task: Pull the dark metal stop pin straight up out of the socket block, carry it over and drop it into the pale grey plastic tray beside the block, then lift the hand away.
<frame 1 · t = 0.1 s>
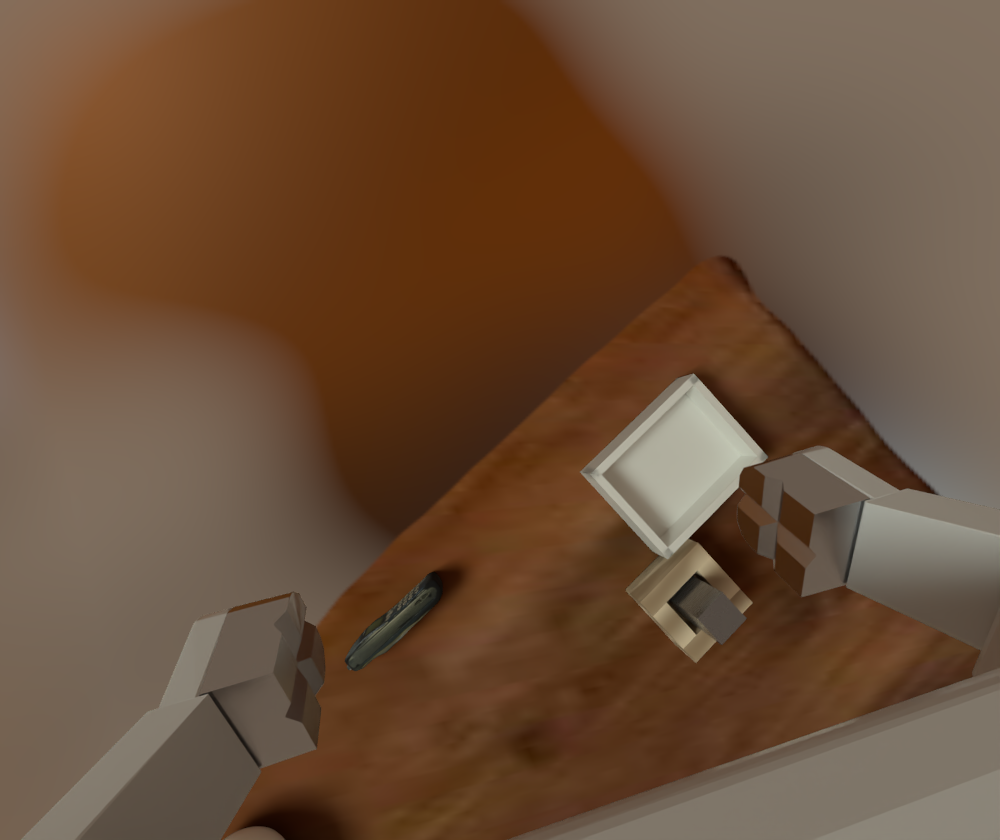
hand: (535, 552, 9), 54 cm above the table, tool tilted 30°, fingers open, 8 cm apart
stop pin: (683, 593, 64), point 1 cm above the table, touching socket block
socket block: (677, 590, 65), on the table
grey tray: (664, 463, 66), on the table
mobile phone: (393, 617, 62), on the table
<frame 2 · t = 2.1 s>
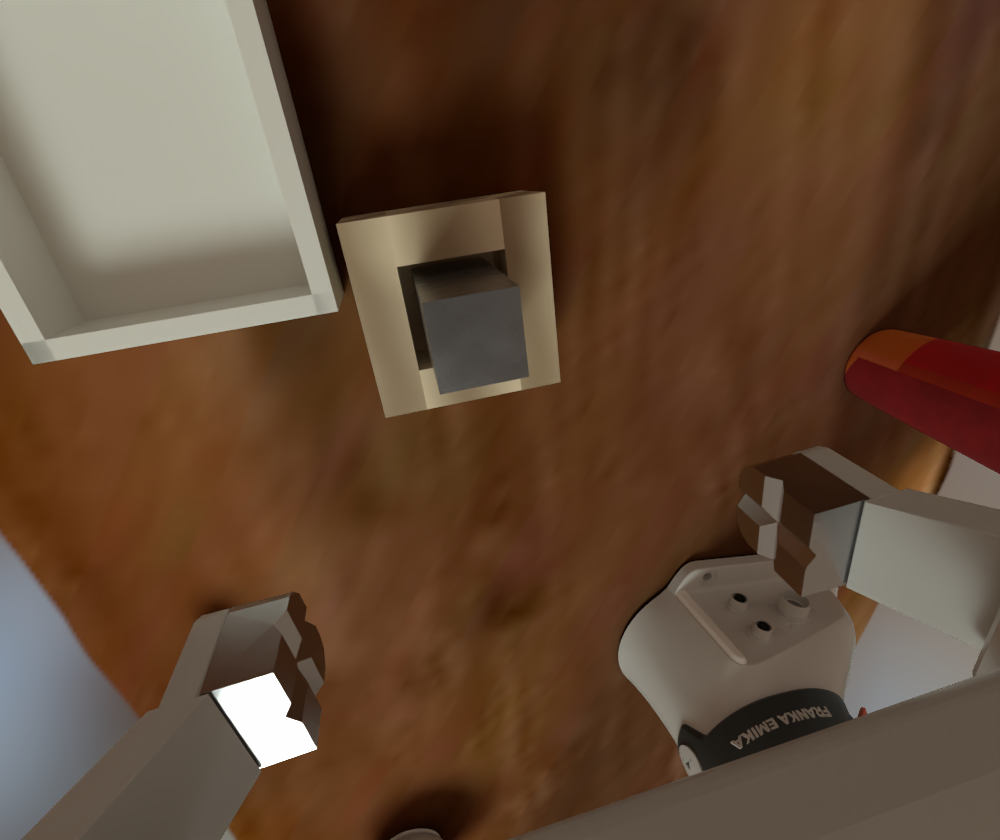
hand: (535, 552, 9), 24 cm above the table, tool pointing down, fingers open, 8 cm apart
stop pin: (452, 297, 29), point 1 cm above the table, touching socket block
socket block: (449, 292, 30), on the table
grey tray: (147, 131, 24), on the table
paper cup: (873, 361, 40), on the table
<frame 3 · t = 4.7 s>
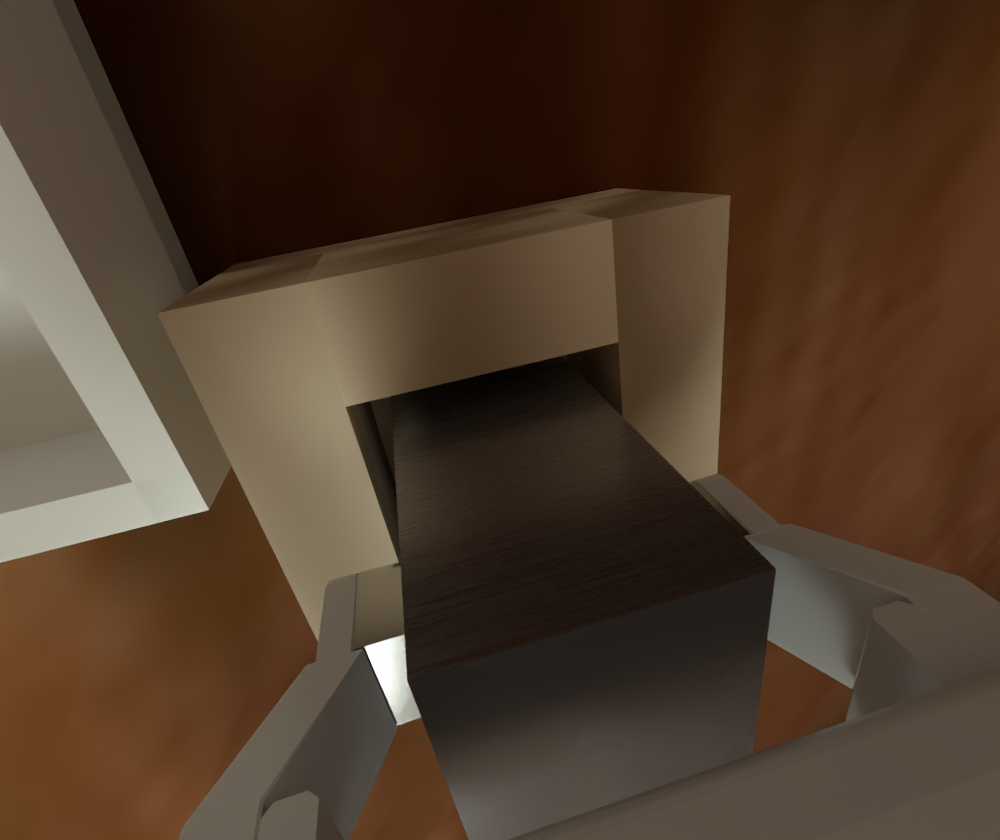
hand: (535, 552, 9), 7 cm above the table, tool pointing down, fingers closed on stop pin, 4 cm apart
stop pin: (479, 418, 14), point 1 cm above the table, touching gripper, socket block
socket block: (470, 397, 15), on the table
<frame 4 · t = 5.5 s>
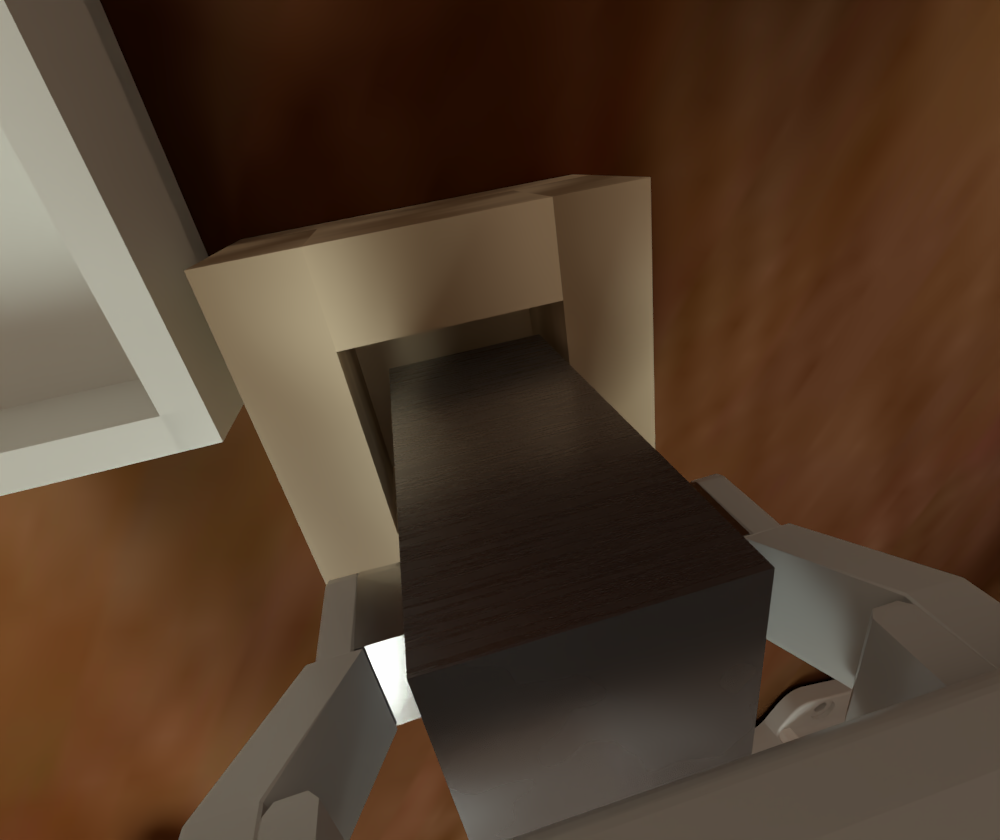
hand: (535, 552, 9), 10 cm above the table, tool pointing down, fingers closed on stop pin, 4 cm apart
stop pin: (479, 418, 14), point 4 cm above the table, touching gripper
socket block: (448, 360, 17), on the table
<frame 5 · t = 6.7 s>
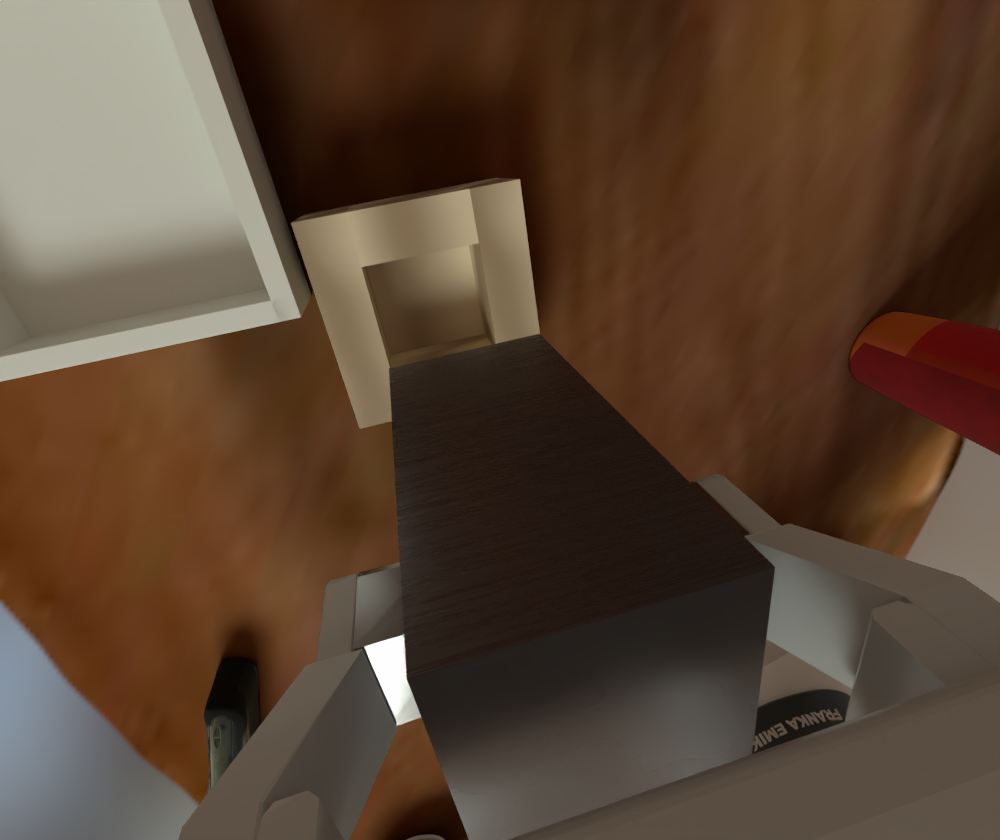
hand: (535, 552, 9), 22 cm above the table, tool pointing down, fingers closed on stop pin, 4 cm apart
stop pin: (479, 418, 14), point 17 cm above the table, touching gripper
socket block: (424, 291, 28), on the table
grey tray: (82, 128, 22), on the table
mobile phone: (242, 718, 40), on the table
paper cup: (879, 346, 38), on the table
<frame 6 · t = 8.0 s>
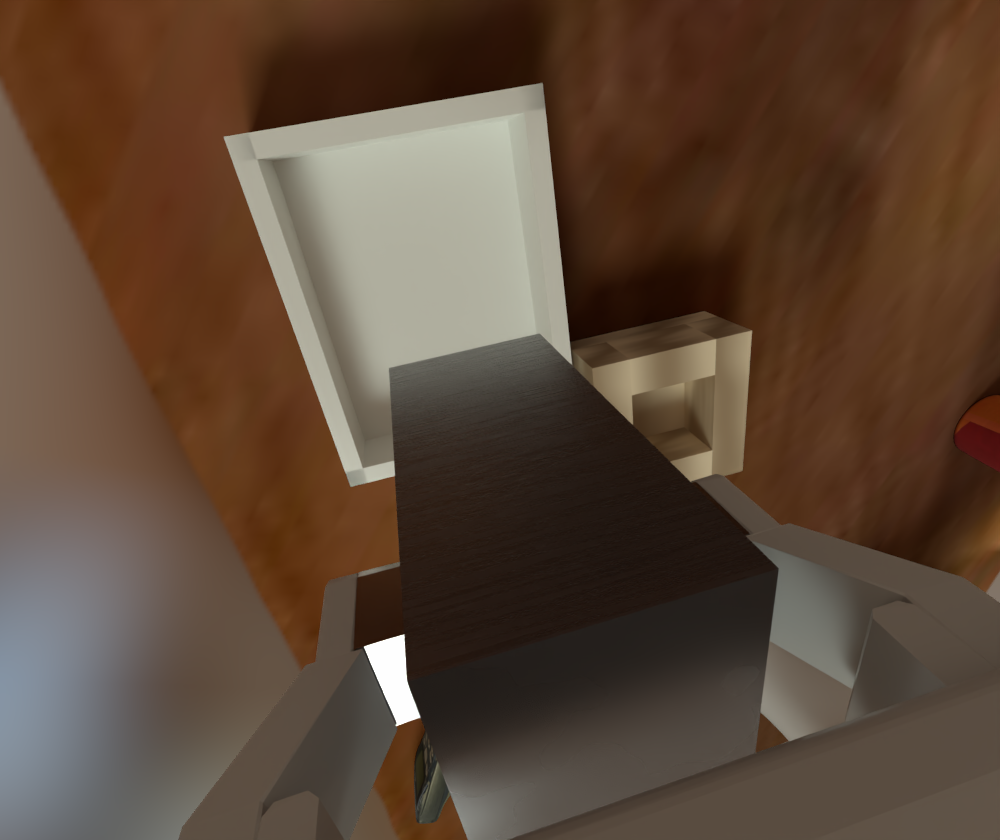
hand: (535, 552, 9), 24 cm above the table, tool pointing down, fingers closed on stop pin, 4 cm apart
stop pin: (479, 418, 14), point 18 cm above the table, touching gripper
socket block: (638, 394, 36), on the table
grey tray: (427, 293, 30), on the table
mobile phone: (434, 731, 48), on the table
paper cup: (979, 421, 45), on the table
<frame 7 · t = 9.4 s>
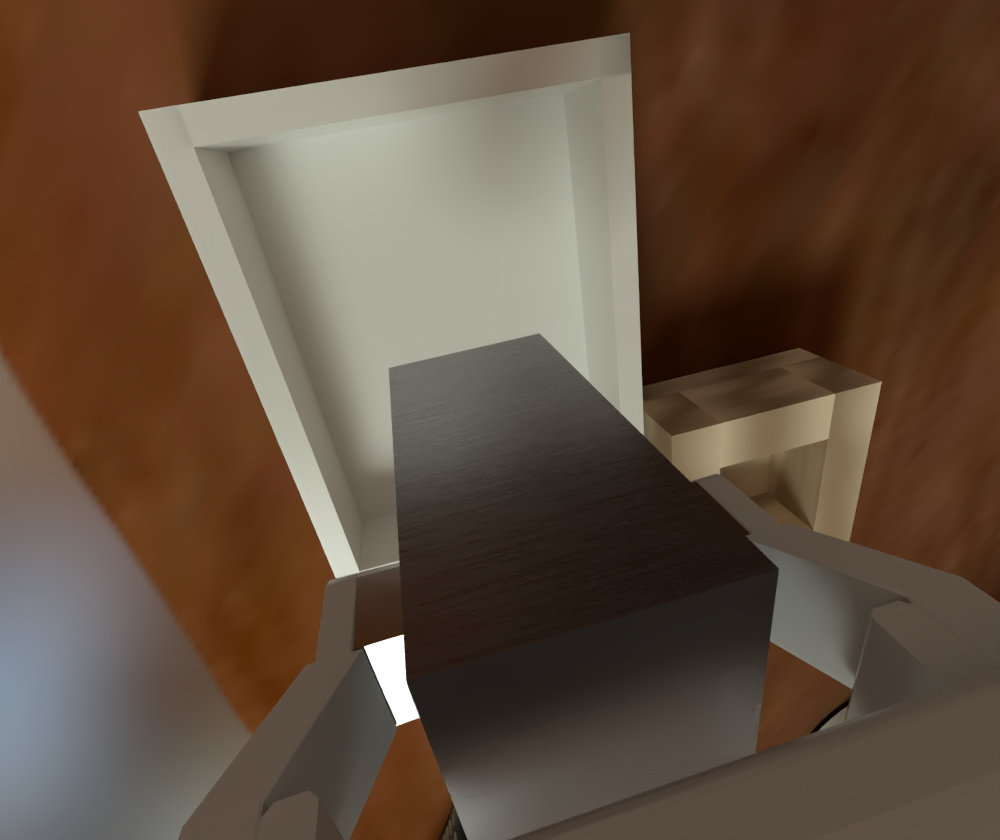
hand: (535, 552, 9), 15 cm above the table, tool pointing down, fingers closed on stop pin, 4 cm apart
stop pin: (479, 418, 14), point 9 cm above the table, touching gripper
socket block: (709, 451, 28), on the table
grey tray: (446, 331, 22), on the table
mobile phone: (449, 838, 40), on the table
when the fingers open (8 cm above the table, at t = 11.2 s): stop pin drops 1 cm, resting on grey tray.
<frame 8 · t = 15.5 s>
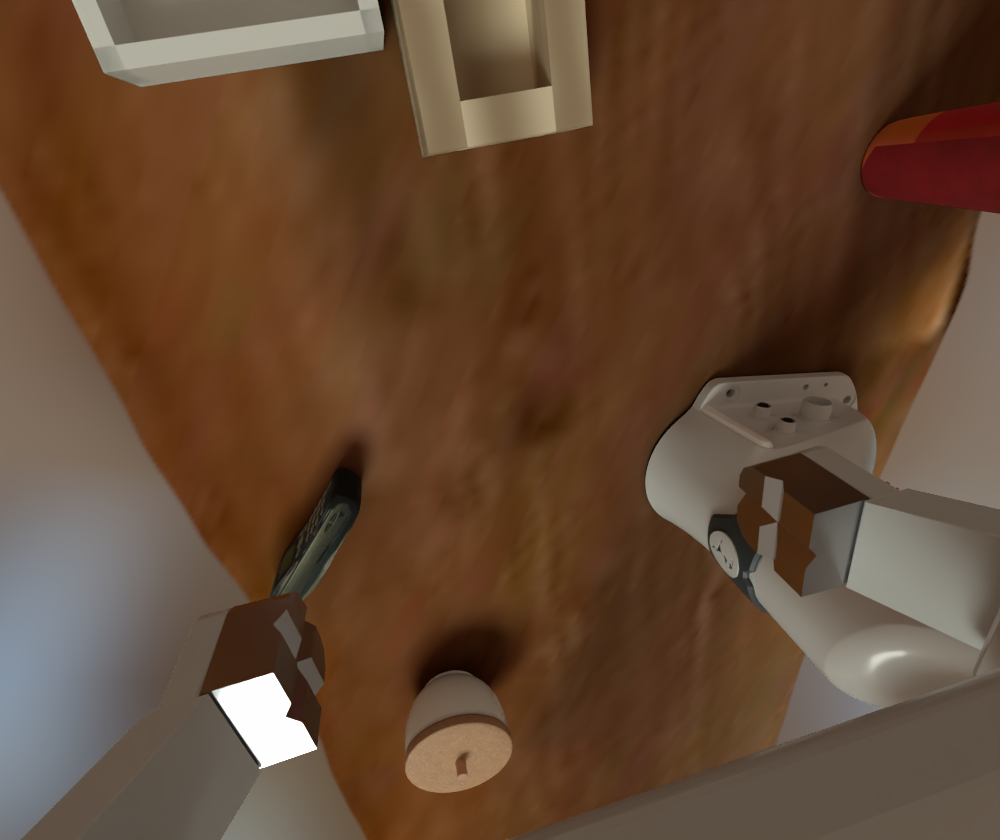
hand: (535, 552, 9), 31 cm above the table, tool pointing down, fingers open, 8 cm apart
socket block: (482, 54, 32), on the table
lidded jar: (450, 687, 57), on the table
mobile phone: (313, 533, 45), on the table
paper cup: (889, 158, 41), on the table
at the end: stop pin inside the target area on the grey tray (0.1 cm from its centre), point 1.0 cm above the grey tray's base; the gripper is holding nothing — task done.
